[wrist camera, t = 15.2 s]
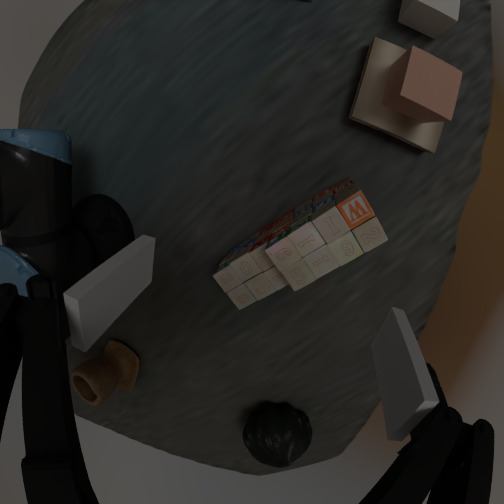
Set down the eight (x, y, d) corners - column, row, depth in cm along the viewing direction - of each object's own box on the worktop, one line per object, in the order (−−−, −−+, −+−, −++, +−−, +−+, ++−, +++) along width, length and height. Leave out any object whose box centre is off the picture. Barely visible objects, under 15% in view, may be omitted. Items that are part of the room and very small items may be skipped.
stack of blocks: (252, 280, 48) (232, 323, 37) (229, 249, 47) (202, 285, 36) (370, 212, 40) (389, 240, 29) (349, 174, 39) (362, 189, 28)
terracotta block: (381, 104, 31) (400, 94, 23) (392, 64, 29) (412, 45, 20) (422, 123, 31) (451, 120, 22) (433, 83, 28) (462, 72, 20)
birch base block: (348, 118, 36) (351, 116, 32) (370, 45, 31) (374, 36, 28) (424, 151, 35) (434, 153, 32) (444, 80, 30) (455, 75, 27)
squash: (222, 429, 58) (252, 484, 48) (253, 397, 52) (291, 461, 42) (269, 418, 67) (299, 465, 56) (302, 385, 61) (338, 438, 51)
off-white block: (397, 21, 29) (414, -2, 20) (403, -6, 26) (419, -32, 18) (434, 39, 28) (457, 21, 20) (439, 11, 26) (461, -10, 17)
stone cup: (104, 326, 61) (66, 365, 47) (146, 354, 61) (113, 400, 47) (98, 362, 67) (67, 398, 54) (135, 386, 67) (107, 427, 54)
